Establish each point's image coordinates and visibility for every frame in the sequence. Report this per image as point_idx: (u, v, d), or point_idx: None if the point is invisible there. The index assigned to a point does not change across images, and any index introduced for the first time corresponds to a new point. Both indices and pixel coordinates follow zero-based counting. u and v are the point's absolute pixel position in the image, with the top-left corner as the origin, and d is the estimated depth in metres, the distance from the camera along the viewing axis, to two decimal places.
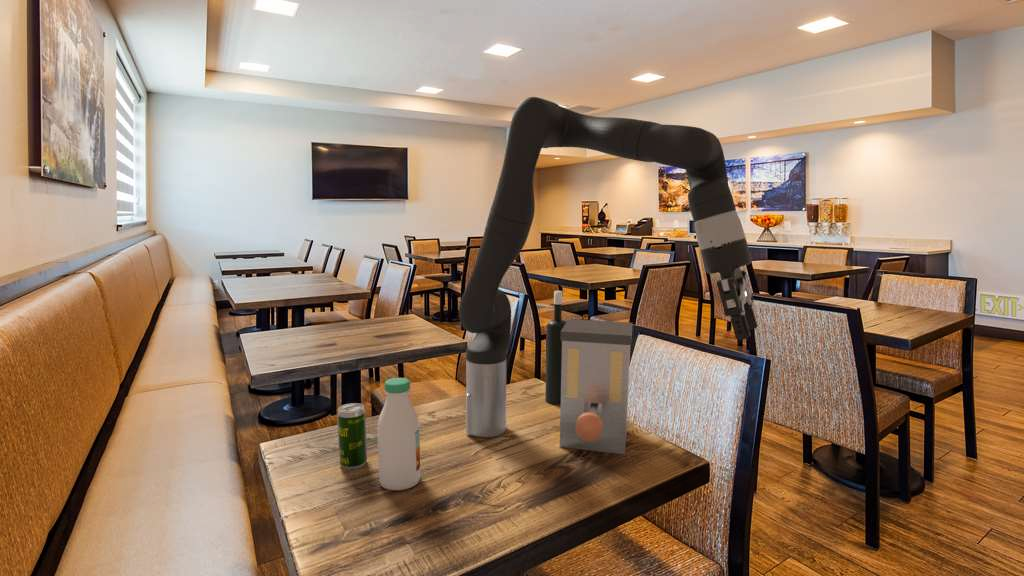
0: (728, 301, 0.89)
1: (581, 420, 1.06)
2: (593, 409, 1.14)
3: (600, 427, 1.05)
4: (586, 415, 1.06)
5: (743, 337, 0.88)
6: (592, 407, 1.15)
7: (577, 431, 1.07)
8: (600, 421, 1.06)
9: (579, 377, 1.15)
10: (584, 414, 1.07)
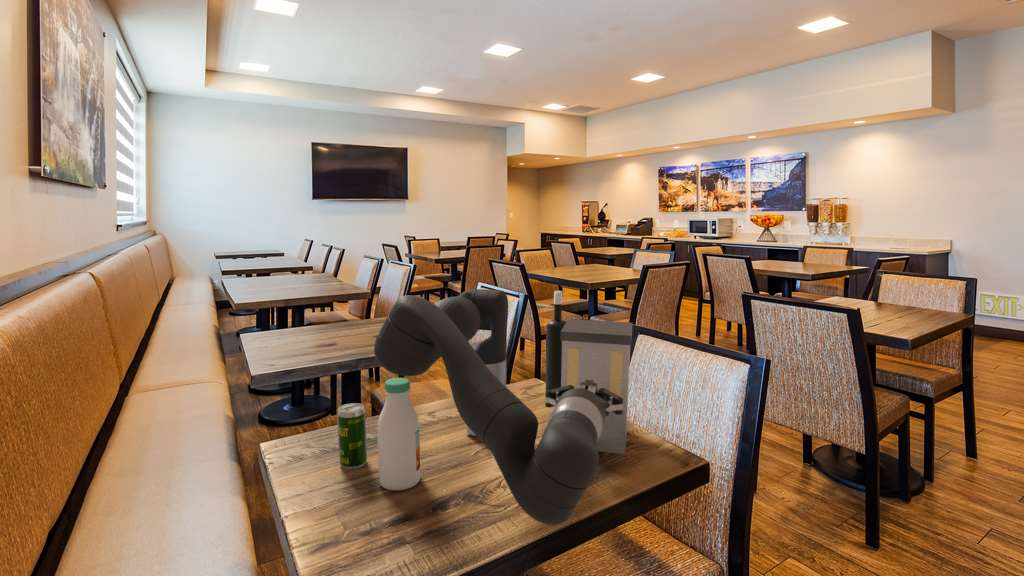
0: None
1: None
2: None
3: None
4: None
5: None
6: None
7: None
8: None
9: (579, 377, 1.15)
10: None
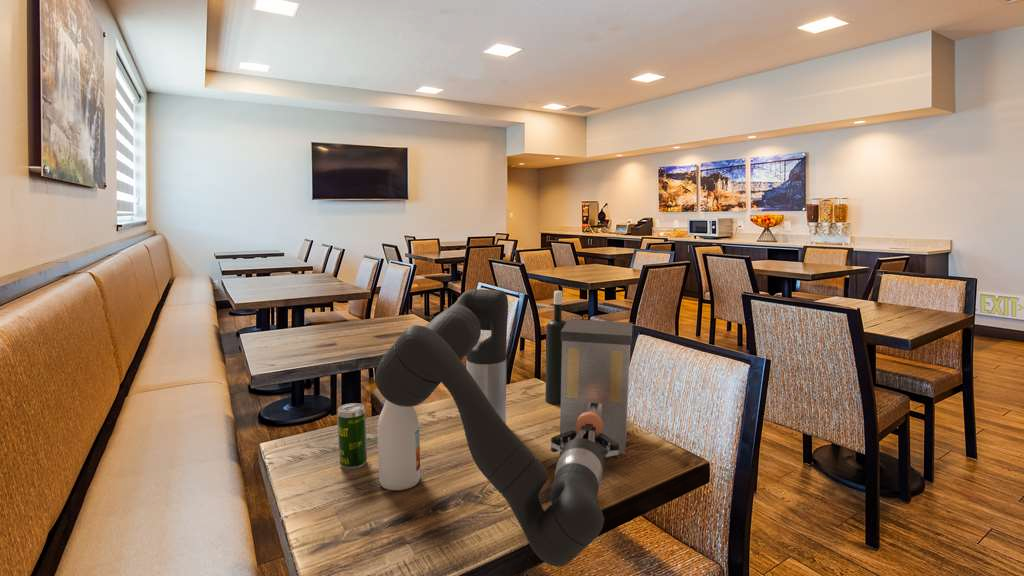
0: None
1: (582, 420, 1.06)
2: (593, 408, 1.14)
3: (600, 426, 1.06)
4: (586, 414, 1.06)
5: None
6: (592, 406, 1.15)
7: (577, 430, 1.07)
8: (600, 420, 1.06)
9: (579, 377, 1.15)
10: (584, 413, 1.07)
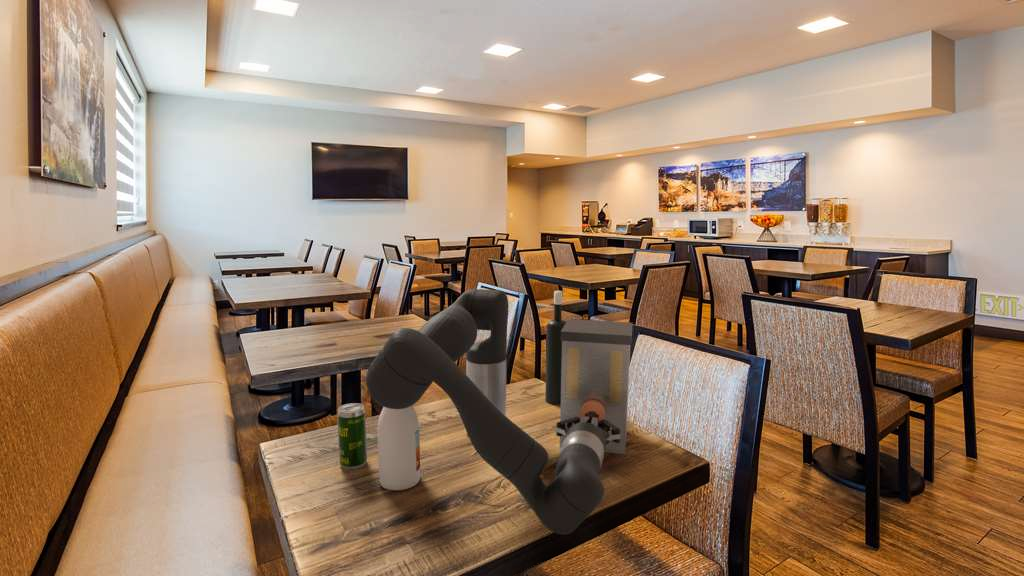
0: None
1: (585, 407, 1.13)
2: None
3: (603, 413, 1.12)
4: (589, 402, 1.13)
5: None
6: None
7: (581, 417, 1.13)
8: (603, 408, 1.13)
9: (579, 377, 1.15)
10: (588, 401, 1.14)
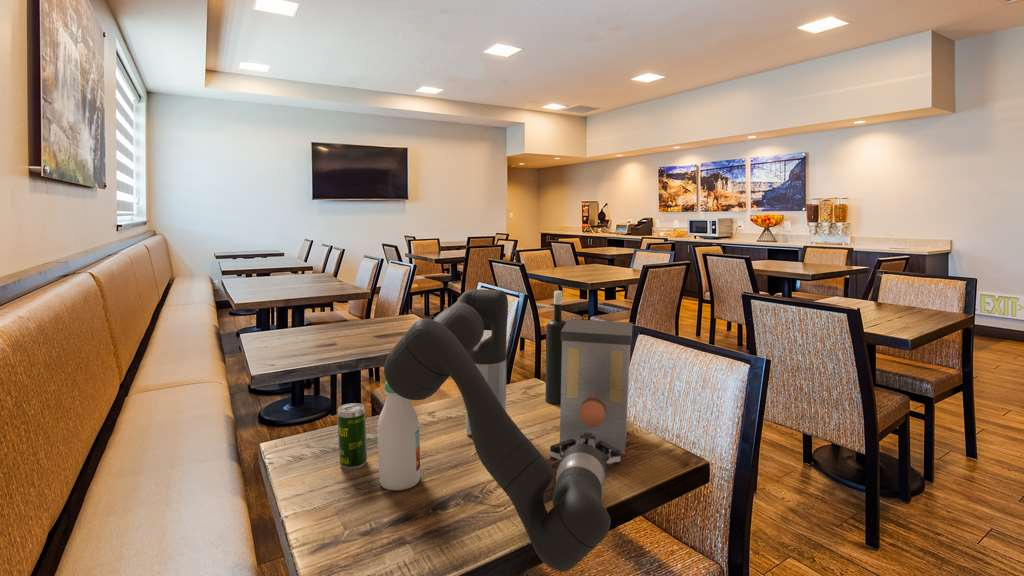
0: None
1: (585, 407, 1.13)
2: None
3: (603, 414, 1.12)
4: (589, 402, 1.13)
5: None
6: None
7: (581, 417, 1.13)
8: (603, 408, 1.13)
9: (579, 377, 1.15)
10: (587, 401, 1.14)
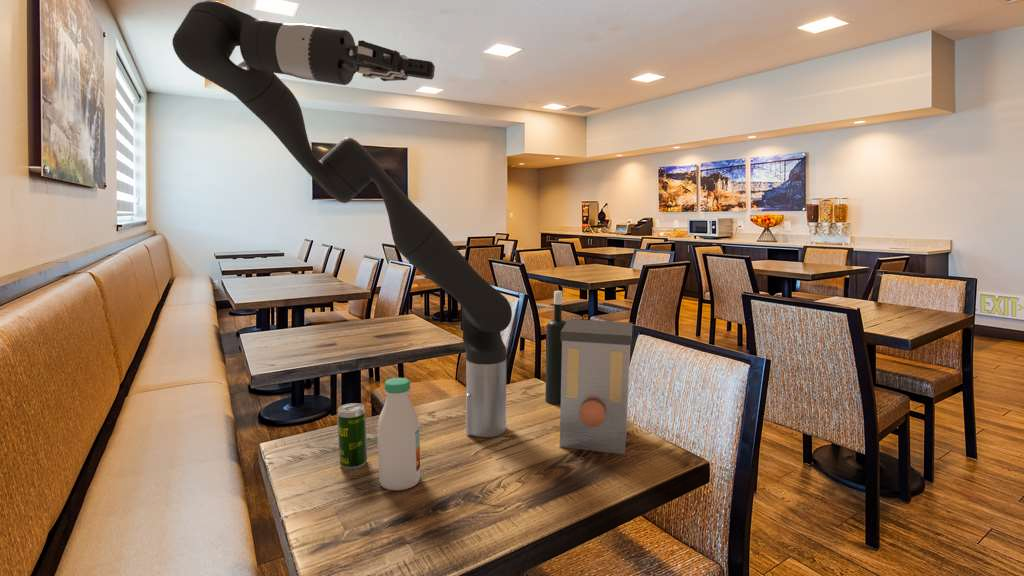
0: None
1: (585, 407, 1.13)
2: None
3: (603, 414, 1.12)
4: (589, 402, 1.13)
5: None
6: None
7: (581, 417, 1.13)
8: (603, 408, 1.13)
9: (579, 377, 1.15)
10: (587, 401, 1.14)
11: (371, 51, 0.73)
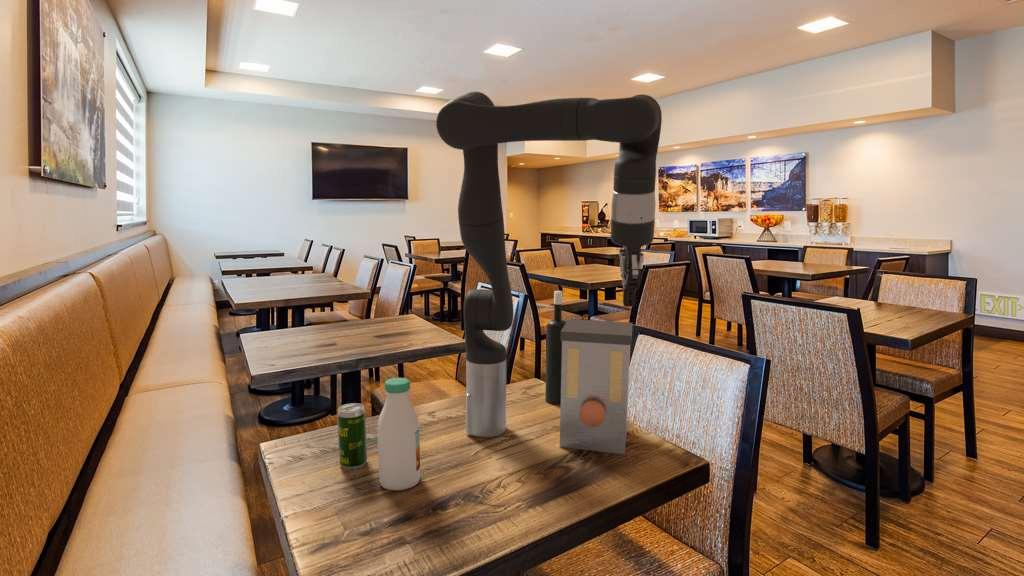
0: None
1: (585, 407, 1.13)
2: None
3: (603, 414, 1.12)
4: (589, 402, 1.13)
5: None
6: None
7: (581, 417, 1.13)
8: (603, 408, 1.13)
9: (579, 377, 1.15)
10: (587, 401, 1.14)
11: (635, 278, 0.94)
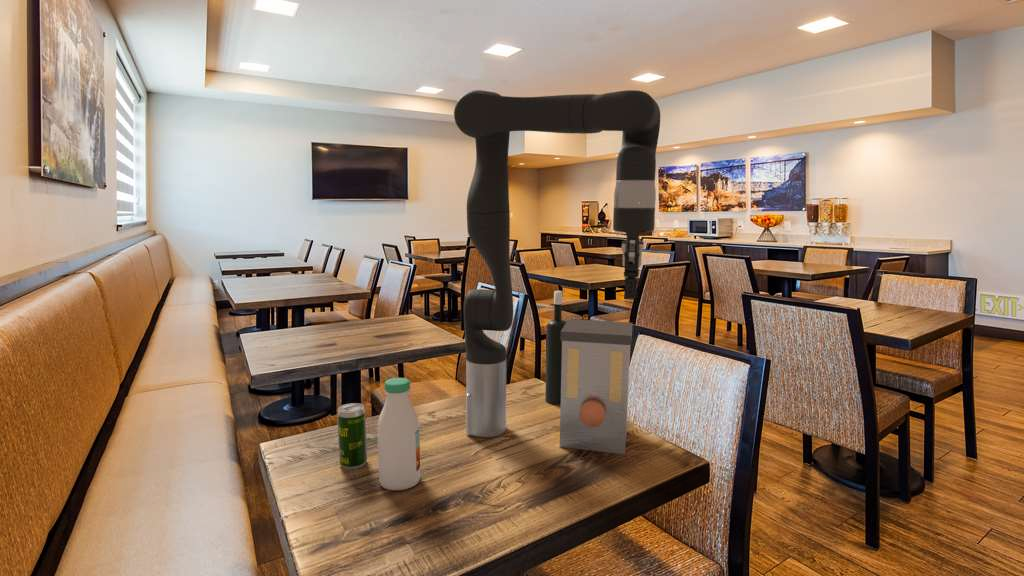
0: None
1: (585, 407, 1.13)
2: None
3: (603, 414, 1.12)
4: (589, 402, 1.13)
5: None
6: None
7: (581, 417, 1.13)
8: (603, 408, 1.13)
9: (579, 377, 1.15)
10: (587, 401, 1.14)
11: (632, 261, 0.96)
